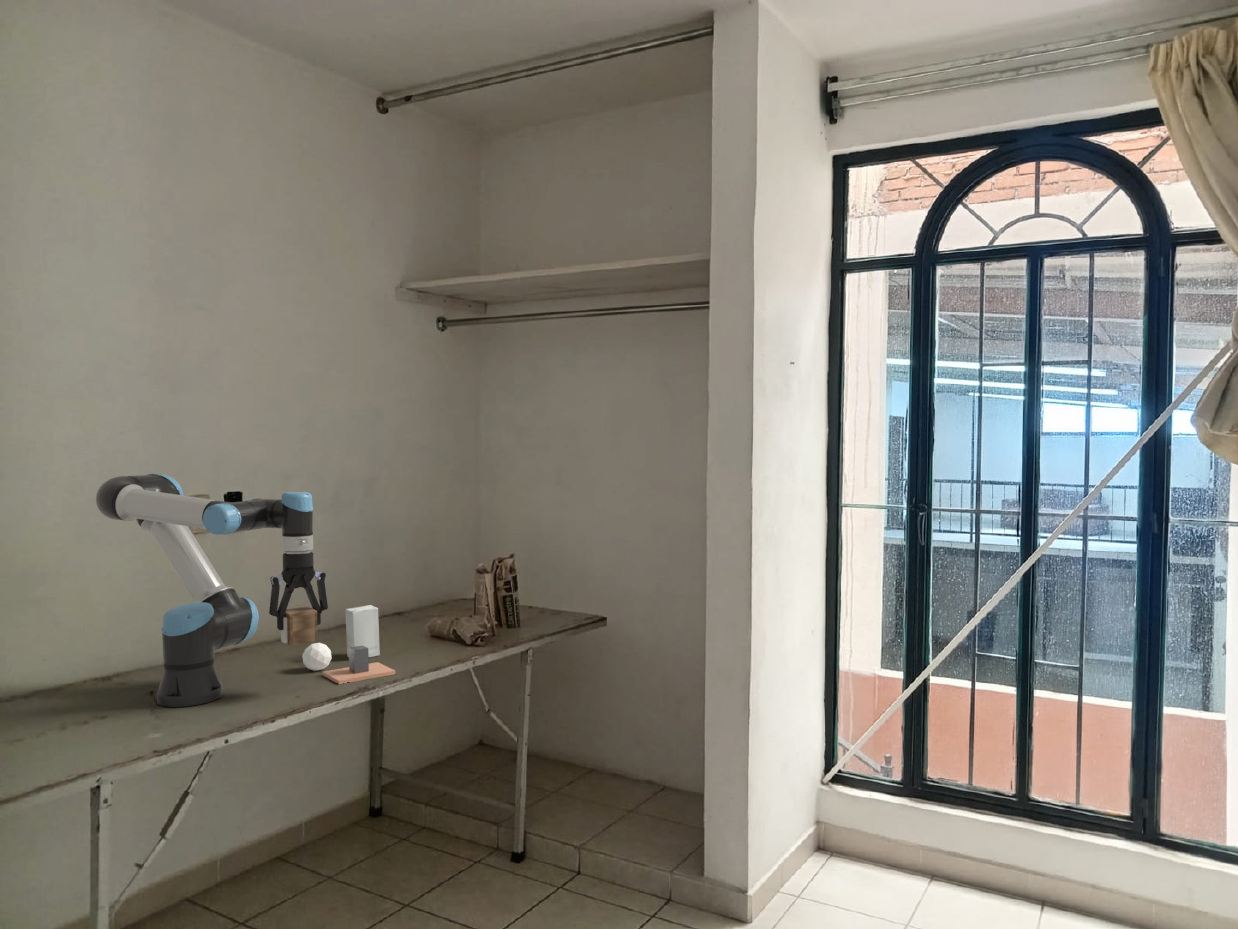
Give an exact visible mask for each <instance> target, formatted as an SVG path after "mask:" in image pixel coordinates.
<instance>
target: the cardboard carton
mask: <svg viewBox="0 0 1238 929" xmlns="http://www.w3.org/2000/svg"><path fill="white" fill-rule="evenodd" d="M284 616H285V617H287V641H288V643H286V644H287V645H289V646H296V645H303V644H309V643H318V639H317V637H318V625H317V610H314V609H313V608H312V607H310V606H302V607H293V608H287V609H286V612H285V615H284Z"/></svg>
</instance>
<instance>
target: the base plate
mask: <svg viewBox="0 0 1238 929" xmlns="http://www.w3.org/2000/svg"><path fill="white" fill-rule="evenodd" d="M391 675H396V670H395V669H393V668H390V666H387V665H385V664H382V663H381V662H371V663H370V662H369V671H368V672H362V673H357V674H354V673H352V672H350V671H349V666H348V667H342V668H337V669H331V670H330V669H329V670H325V671H322V676H323V677H325V678H327V679H328V680H330V681H333V682H334V683H336V684H337V683H338V684H337V685H343V683H344V684H348V683H347V682H350V683H354V682H360V681H365V680H369V679H371V680H372V679H376V678H382V677H386V676H391Z"/></svg>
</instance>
